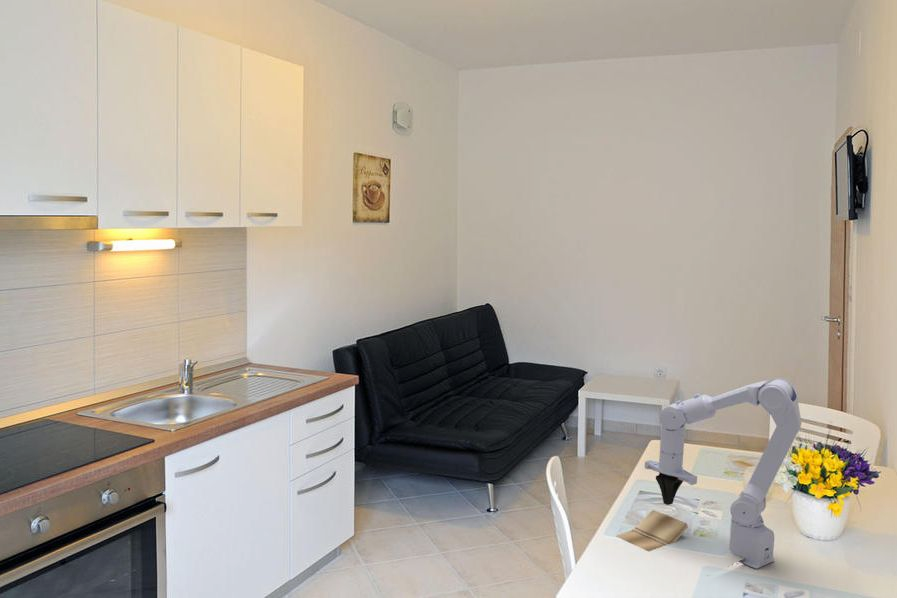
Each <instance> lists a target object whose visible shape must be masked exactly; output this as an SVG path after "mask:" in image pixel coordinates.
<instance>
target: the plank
mask: <svg viewBox="0 0 897 598" xmlns="http://www.w3.org/2000/svg"><path fill="white" fill-rule="evenodd" d="M688 528H689V525H688V523H687V522H684V521H683V520H680V519H678V518H675V517H673V516H670V515H667V514H665V513H662V512H660V511H657V510H655V509H652V510H651V511H650V512H649V514H647V515H646V516H645V517H644V518H643V520H642V521H641V522H640V523H639V524H638V525H637V526H636V527H635V528H634V529H633V530H636V531H638V532H640V533H642V534H645V535H647V536H649V537H651V538H654V539H656V540H658V541H661V542H663V543H665V544H667V545H670V544H673V543H676V542H677V541H678V540H679V538H680V537H681V536H682V535H684V533H685V532H686V531H687V530H688Z"/></svg>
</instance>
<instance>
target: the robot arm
mask: <svg viewBox="0 0 897 598" xmlns="http://www.w3.org/2000/svg"><path fill="white" fill-rule="evenodd" d="M767 382H768V383H767ZM743 403H749V404H751V405H753V406H756V407H757V406H759V405H761V407H762V408H763V409H764V410H765V411H766V412H767V414H769V415H770V416H771V418H772V419H773V422H774V423H775V426H776V427H775V429H774V431H773V432H772V435H771V437H770V439H769V440H768V443H767V445H766V447H765V449H764V451H763V453H762V454H761V456H760V459H759V460H758V463H757V465H756V467H755V469H754V471H753V473H752V475H751V477H750V479H749V481H748V483H747V484H746V486H745V488H744V490H743V491H741V493H740V494H739V495H738V497H737V498H736V500H734V501H732V503H731V506H730V509H729V510H730V515H731V518H730V533H729V544H728V545H729V548H728V549H729V551H730V553H732V554H733V555H736V556H737V557H741V558H743V559H741V560H738V562H739V563H741V564H744V565H746V566H748V567H751V568H753V569H760V568H762V567H764V566H766V565H768V564H771V563H772V562H775V558H774V548H775V547H774V546H775V534H774V531H773V530H772V529H770V528H769V527H767V526H766V525H765V523H764V522H765V521H764V519H763V516H762V515H761V514H762V513H763V512H764V511H765V510H766V505H767V501H766V498H767V495H768V493H769V490H770V488H771V486H772V484H773V482H774V480H775V478H776V476H777V474H778V472H779V470H780V469H781V466H782V465H783V463H784V461H785V458H786V457H787V455H788V452H789V451H790V449H791V447H792V445H793V443H794V441H795V439H796V437H797V435H798V433H799V430H800V429H801V427H802V418H801V412H800V406H799V394H798V393H797V390H796V389H795V388H794V386H793V384H792V383H791V382H790V381H789V380H787V379H785V378H783V377H778V378H777V377H776V378H772V379H771V380H769V381H768V380H761V381H758V382H754V383H749V384H747V385H744V386H742V387H739V388H736V389H735V388H734V389H733V390H730V391H728V392H724V393H722V394H719V395H716V396H710V395H708V394H701V393H696V394H694V395H693V398H689V399H686V400H681V399H679V400H677V401H675V403H671V404H669V405H668V406H666V407H665V408H663V409H662V410H661V411H660V412H659V417H658V418H659V423H660V426H661V431H660V441H659V442H660V443H659V459H658V461H655V460H651V459H649V460H645V461H644V469H645V470H652V471H654V472H656V473H658V474H657V475H655V480H656V482H657V484H658V486H659V489H660V492H661V496H662V502H663V503H662V504H664V505H666V506H670V505H672V504H673V503H674V500H675V497H676V494H677V492H678V490H679V489H680V487H681V485H682V484H683V483H688V484H689V485H690V486H693V485H697V483H698V482H697V481H698V475H695V474H692V473H690V472H689V471H687V470H685V469H684V468H683V466H684V465H683V462H684V451H685V449H684V448H685V447H684V446H685V430H686V429H685V428H686V425H687V424H688V425H689V424H690V425H691V424H694V423H698V422H701V421H704V420H708V419H710V418H713V417H714V416H715V414H716V413H717V410H722V409H725V408H728V407H729V408H730V407H733V406H736V405H740V404H743Z"/></svg>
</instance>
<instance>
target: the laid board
mask: <svg viewBox="0 0 897 598" xmlns="http://www.w3.org/2000/svg"><path fill="white" fill-rule="evenodd" d="M615 537H617V538H618V539H621V540H623V541H625V542H627V543H630V544H632V545H634V546H636V547H638V548H640V549H643V550H645V551H647V552H652V551H653V550H657V549H659V548H663V547H665V546H667V545H668V544H666V543H664V542H662V541H659V540H657V539H655V538H652V537H650V536H648V535H646V534H643V533H641V532H639V531H637V530H634V529H631V530H629V531H626V532H623V533H620V534H617V535H615Z"/></svg>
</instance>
